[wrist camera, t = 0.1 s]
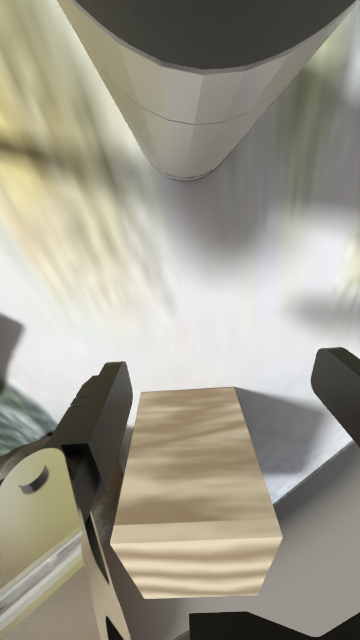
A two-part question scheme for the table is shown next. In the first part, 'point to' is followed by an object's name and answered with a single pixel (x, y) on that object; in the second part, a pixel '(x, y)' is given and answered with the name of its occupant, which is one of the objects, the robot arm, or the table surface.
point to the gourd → (103, 503)
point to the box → (194, 499)
